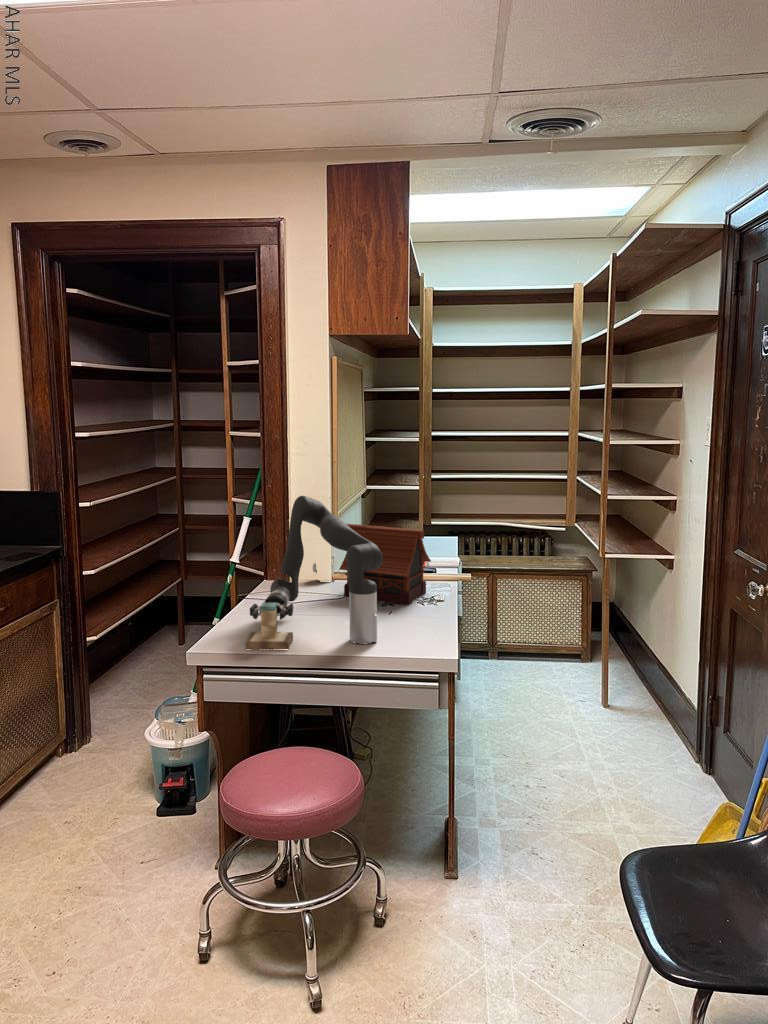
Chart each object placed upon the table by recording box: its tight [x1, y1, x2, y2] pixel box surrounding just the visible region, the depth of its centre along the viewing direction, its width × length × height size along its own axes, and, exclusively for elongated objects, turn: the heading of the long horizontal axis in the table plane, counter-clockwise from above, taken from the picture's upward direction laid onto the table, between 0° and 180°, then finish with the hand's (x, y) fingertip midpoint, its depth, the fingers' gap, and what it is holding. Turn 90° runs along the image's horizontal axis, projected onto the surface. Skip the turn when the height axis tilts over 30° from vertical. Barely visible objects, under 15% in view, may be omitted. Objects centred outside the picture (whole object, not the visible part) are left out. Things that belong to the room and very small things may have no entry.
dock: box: [245, 631, 294, 651], centre depth 242 cm, size 14×10×3 cm
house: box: [339, 523, 432, 606], centre depth 301 cm, size 35×28×29 cm
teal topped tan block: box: [259, 602, 278, 639], centre depth 241 cm, size 5×5×11 cm
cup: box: [312, 553, 336, 574], centre depth 326 cm, size 10×9×12 cm
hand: (267, 616), depth 239 cm, fingers open, 8 cm apart
